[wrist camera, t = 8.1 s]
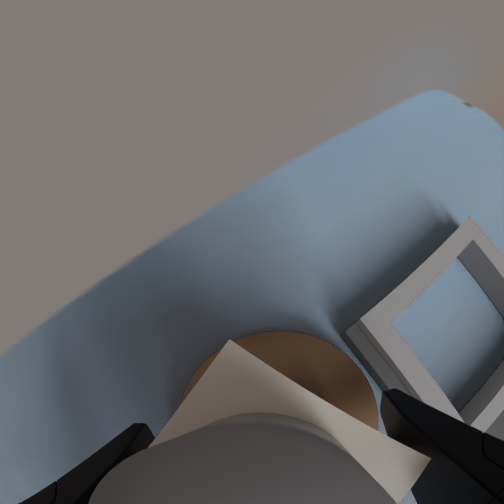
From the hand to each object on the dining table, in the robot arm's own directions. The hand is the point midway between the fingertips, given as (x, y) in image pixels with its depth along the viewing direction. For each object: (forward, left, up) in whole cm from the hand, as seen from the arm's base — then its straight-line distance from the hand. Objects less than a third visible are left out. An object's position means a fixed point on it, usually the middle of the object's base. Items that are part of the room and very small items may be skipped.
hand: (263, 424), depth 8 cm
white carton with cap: (-1, +1, -7) cm, 7 cm away
